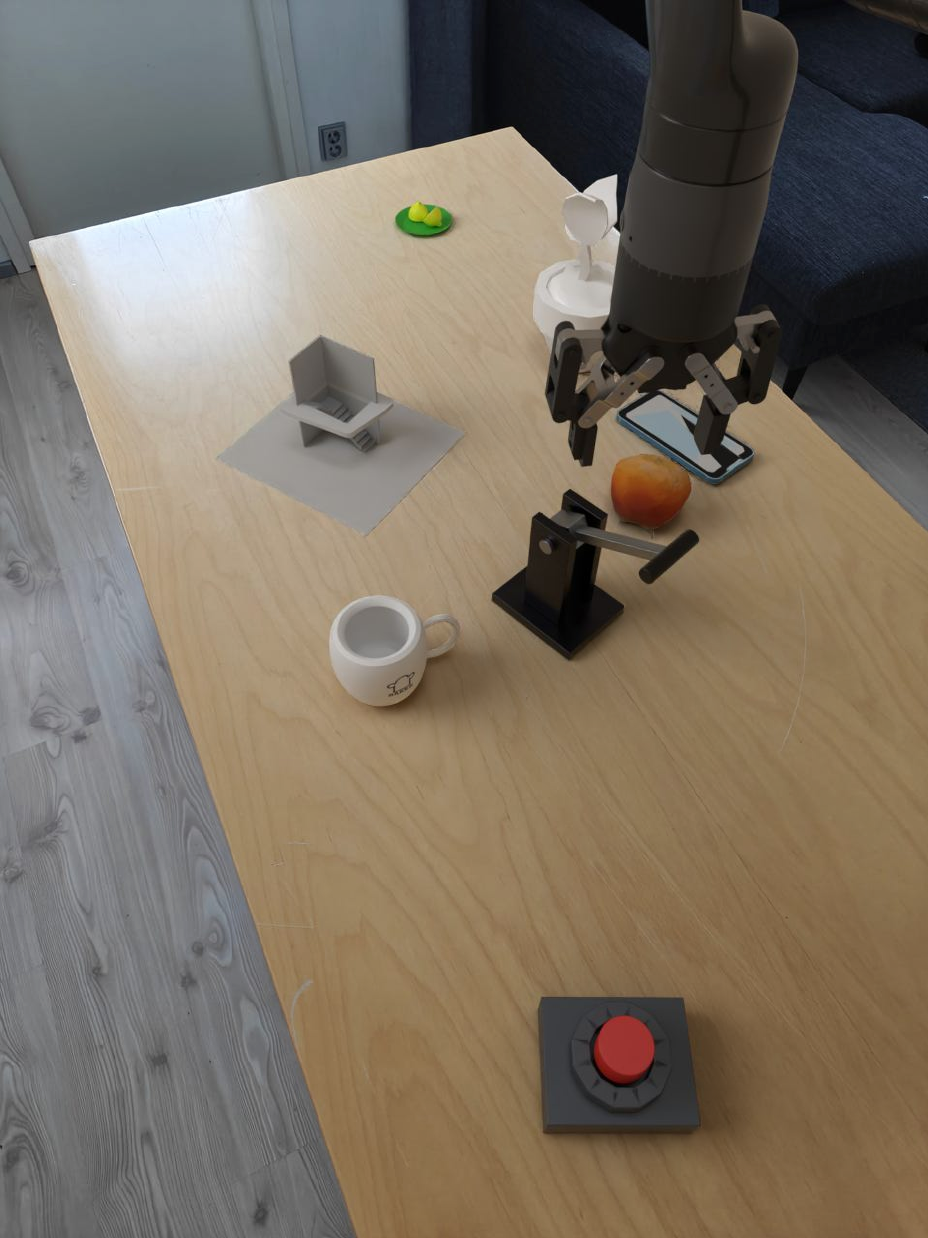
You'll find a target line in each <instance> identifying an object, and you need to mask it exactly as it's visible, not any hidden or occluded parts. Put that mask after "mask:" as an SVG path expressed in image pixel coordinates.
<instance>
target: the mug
mask: <svg viewBox="0 0 928 1238" xmlns="http://www.w3.org/2000/svg"><path fill="white" fill-rule="evenodd" d="M440 623H447V624H449V625H450V626H451V634H450V636H449V638H448V639H447V640H446V642H445V643H443V644H441V645H440V646H437V647H435V648H432V649H428V637H427V633H426V629H428V628H431V627H432V626H434V625H436V624H440ZM460 634H461V626H460V622H459V621H458V619H457V618H455V617H454V616H453V615H451V614H447V613H441V614H435V615H432V616H431V617H428V618H426V619H424V620H422V618H421V617H420V616H419V614H418V613H417V612H416V611H415V609H413V608H412V606H410V605H409V604H408V603H407V602H405V601H404V600H402V599H400V598H397V597H394V596H390V595H383V594H375V595H368V596H364V597H360V598H358V599H355V600H353V601H352V602H350V603H348V604H347V605H346V606H344V607H343V608H342V609H341V610H340V612H339V613H338V614H337V616H336V617H335V619H334V621H333V622H332V625H331V627H330V631H329V642H328V643H329V644H328V649H329V657H330V663H331V665H332V669H333V671H334V674H335V676H336V678H337V680H338V681H339V683H340V685H341V686H342V687H343V688H344V689H345V691H346V692H347V693H348V695H350V696H351V697H353V698H355V700H357V701H359V702H360V703H362V704H365V705H368V706H373V707H388V706H393V705H395V704H398V703H400V702H402V701H403V700H405V699H407V698H408V697H409V696H410V695H411V694H412V693H413V692H414V691H415V689H417V687H418V685H419V684H420V682H421V680H422V678H423V676H424V672H425V670H426V667H427V661H428V659H430V658H435V657H438V656H441V655H443V654H444V653H446V652H448V651H450V650H451V649H452V648H453V647H454V646H455V645H456V643H457V642H458V640H459V638H460Z"/></svg>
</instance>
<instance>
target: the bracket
mask: <svg viewBox="0 0 928 1238" xmlns="http://www.w3.org/2000/svg"><path fill="white" fill-rule="evenodd" d="M562 509H563V510H567V511H571V512H575V513H579V514H583V515H585V518H586V521H587V525H588V526H589V527H593V528H597V529H601V530H604V531H606V527H607V523H608V516H609V513H607V512H606V511H604V510H603V509H601V508H600V507H598V506H597V505H595V504H594V503H593V502H591V501H589V500H588V499H586V497H583V496H582V495H581V494H579V493H578V492H576V491H574V490H573V489H572V488H569V489H567V490H566V491H565V492H563V494H562V499H561V506H560V510H562ZM577 540H578V538H576V537H575V536H574V535H572V534H571V533H569V532H568V531H566V530H565V529H564V528H562V527H561V526H559V525H558V524H557V523H555V522H554V521H552V520H551V519H550V518H549V517H548V516H546V515H545V514H543V513H542V511H538V512H537V513H535V514H534V515H533V516H532V517H531V523H530V534H529V544H528V555H527V564H526V566H525V567H523V568H522V569H521V570H520V571H519V572H516V574H514V576H512V577H511V578H509V579H508V580H507V581H506V582H504V583H503V584H502V585H501V586H499V587H498V588H497V589H495V590H494V591H493V592H491V602H492V603H494V604H495V605H496V606H497V607H499V608H501V609H502V610H503V611H504V612H505V613H506V614H508V615H509V616H511V618H513V619H514V620H515V621H517V622H518V623H519V624H520V625H522V626H523V627H525V628H526V629H527V630H529V631H530V632H531V633H532V634H534V635H535V636H536V637H537V638H539V639H540V640H541V641H542V642H544V643H545V644H546V645H548V646H549V648H552V649H553V650H554V651H556V652H557V654H559V655H561V656H562V657H563V658H564V659H566V660H567V661H570V660H572V659H573V658H574V657H575V656H576V655H578V653H579V652H581V651H582V650H583V649H584V648H585V647H586V646H588V644H590V643H591V642H592V641H594V639H596V638H597V637H598V636H599V635H600V634H601V633H602V632H603V631H605V630H606V629H607V628H608V627H609V626H611V625H612V624H613V623H614V622H616V620H617V619H618V618H619V617H620V616H622V615H623V614H624V611H625V606H626V605H624V603H622V602H620V601H619V600H618V599H616V598H615V597H614V596H612V595H611V594H609V593H608V592H606V591H605V590H604V589H603V588H601V587H599V586H598V585H597V584H596V580H597V574H598V571H599V570H598V569H599V565H600V561H601V559H600V558H601V554H602V549H603V548H602V547H598V546H595V545H591V544H587V543H583V544H582V545H581V546H580V547H578V548H577V549H576V547H577Z"/></svg>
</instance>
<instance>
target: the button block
mask: <svg viewBox="0 0 928 1238" xmlns="http://www.w3.org/2000/svg"><path fill="white" fill-rule="evenodd" d="M617 1016H631V1017H634V1018H636V1019H638V1020H639V1021H641V1022H642V1023H643V1024H644V1025H645V1026H646V1027H647V1028H648V1029H649V1031H650V1033H651V1034H652V1037H653V1040H654V1045H655V1054H654V1058H653V1061H652V1063H651V1064H650V1066H649V1067H648V1069H647V1070H646V1071H645V1073H644V1074H643V1075H642V1076H641V1077H640V1078H639V1079H638V1080H636V1081H634V1082H632V1083H627V1084H621V1083H616V1082H614V1081H612V1080H610V1079H608V1078H607V1077H606V1076H605V1075H603V1073H602V1072H601V1071H600V1069H599V1068H598V1066H597V1064H596V1061H595V1057H594V1045H595V1042H596V1039H597V1037H598V1035H599V1033H600V1031H601V1029H602V1027H603V1026H604V1025H605V1023H606V1022H607V1021H609V1020H610V1019H612V1018H614V1017H617ZM537 1019H538V1020H537V1021H538V1045H539V1047H538V1048H539V1069H540V1090H541V1091H540V1093H541V1112H542V1113H541V1115H542V1133H543V1134H615V1135H617V1134H618V1135H619V1134H620V1135H621V1134H625V1135H626V1134H627V1135H628V1134H630V1135H631V1134H633V1135H635V1134H639V1135H645V1134H646V1135H647V1134H649V1135H653V1134H655V1135H658V1134H659V1135H670V1134H671V1135H676V1134H677V1135H688V1134H689V1135H690V1134H692V1133H694V1132H695V1131H696V1130H697V1129H698V1128H700V1127H701V1126H702V1125H701V1124H702V1123H701V1116H700V1109H699V1102H698V1095H697V1087H696V1081H695V1072H694V1065H693V1064H694V1063H693V1058H692V1057H693V1056H692V1050H691V1049H692V1048H691V1043H690V1042H691V1041H690V1035H689V1028H688V1020H687V1014H686V1005H685V999H684V997H674V996H673V997H672V996H671V997H663V996H661V997H660V996H658V997H657V996H656V997H655V996H654V997H653V996H646V997H645V996H619V997H618V996H541V997H540V1001H539V1004H538V1008H537Z"/></svg>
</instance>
